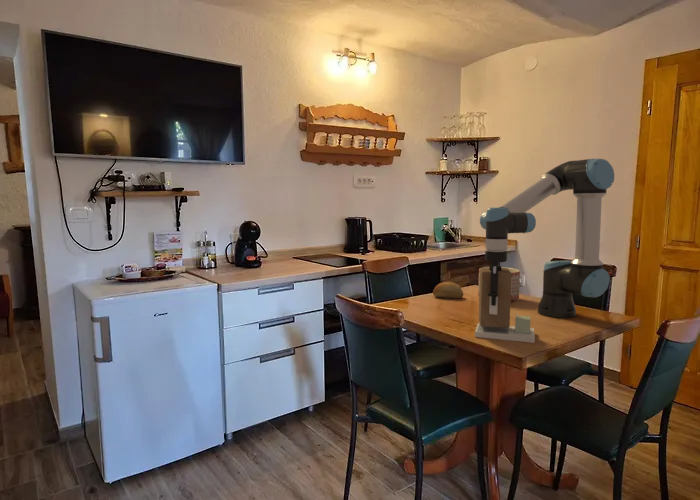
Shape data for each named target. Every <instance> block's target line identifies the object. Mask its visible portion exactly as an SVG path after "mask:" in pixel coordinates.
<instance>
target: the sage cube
mask: <svg viewBox="0 0 700 500" xmlns="http://www.w3.org/2000/svg"><path fill="white" fill-rule="evenodd" d="M514 322H515V323H514V326H515V332H517V333H528V334H530V328H531V322H532V321H531V316H528V315H517V314H516V315H515V321H514Z"/></svg>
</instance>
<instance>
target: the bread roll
mask: <svg viewBox="0 0 700 500" xmlns="http://www.w3.org/2000/svg"><path fill="white" fill-rule="evenodd" d="M432 295H433V296H434V297H436V298H437V297H439V298H449V299H450V298H451V299H459V300H460V299H462V298H463V296H464V291H463V289H462V287H461V285H459V284H458V283H456V282H453V281H441V282H440V283H438V284H436V286H434V289H433V290H432Z"/></svg>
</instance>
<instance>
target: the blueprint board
mask: <svg viewBox="0 0 700 500" xmlns="http://www.w3.org/2000/svg"><path fill="white" fill-rule="evenodd" d="M474 337H475V338H480V339H481V338H482V339H492V340H503V341H513V342H524V343H533V344H534V343H536V342H535V340H536V338H535V337H536V335H535V328H534V327H530V334H528V333H517V332H515V325H510V327H509V328H503V327H483V326H481V325H480V322H478V323H477V324H476V328H475V330H474Z"/></svg>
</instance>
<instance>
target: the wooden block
mask: <svg viewBox="0 0 700 500" xmlns="http://www.w3.org/2000/svg"><path fill="white" fill-rule="evenodd" d="M507 268H508V267H506V268H501V271H498V308H497V315H495V314H489V305H490V296H488V294H490V281H491V271H490V268H483V267H480V268H479V269H480V288H479V296H478V298H479V299H478V323H480V325H481V326H483V327H503V328H509V327H510V326H511V325H510V324H511V323H510V321H511V320H510V319H511V302H510V300H511V272H510V271H509V270H508V269H507Z"/></svg>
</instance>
